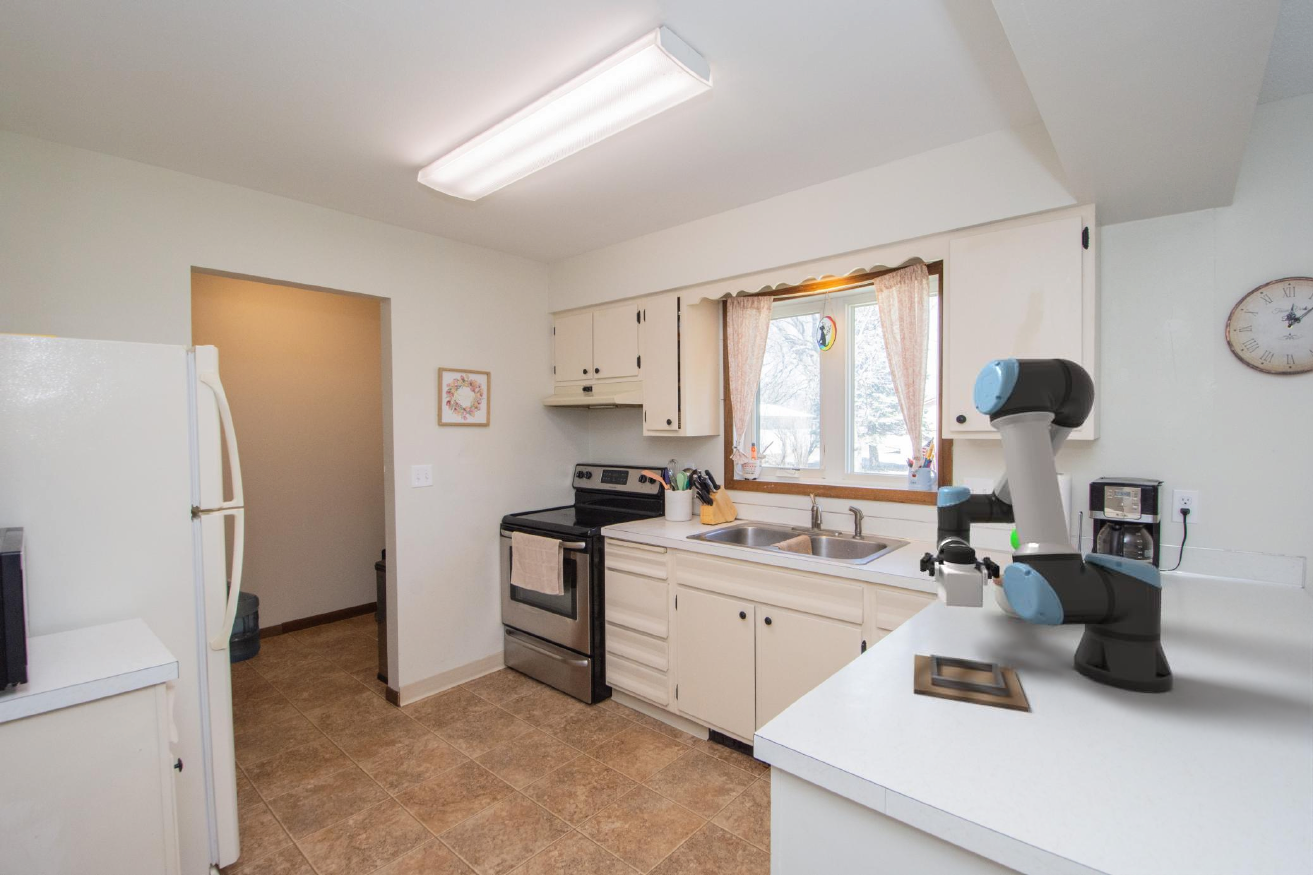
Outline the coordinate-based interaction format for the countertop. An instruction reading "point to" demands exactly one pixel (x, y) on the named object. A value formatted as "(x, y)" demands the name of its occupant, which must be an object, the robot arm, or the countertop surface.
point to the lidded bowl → (1003, 597)
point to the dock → (968, 681)
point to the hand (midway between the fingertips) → (961, 576)
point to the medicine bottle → (960, 578)
